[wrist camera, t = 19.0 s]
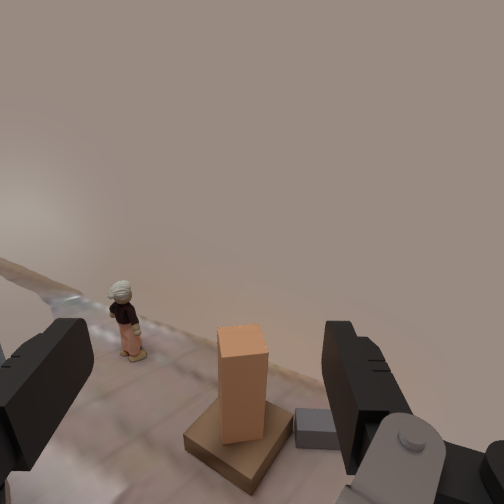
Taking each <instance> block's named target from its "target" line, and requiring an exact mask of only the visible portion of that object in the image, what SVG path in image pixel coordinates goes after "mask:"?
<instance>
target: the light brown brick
mask: <svg viewBox="0 0 504 504" xmlns="http://www.w3.org/2000/svg"><path fill="white" fill-rule="evenodd" d="M217 338H218V402H219V418H220V427H221V436H222V445H224V444H231V443H237V442H244V441H250V440H257V439H263V429H264V414H265V399H266V384H267V369H268V349H267V347H266V344H265V340H264V337H263V335H262V331H261V329H260V325H259V324H254V325H243V326H232V327H221V328H217Z"/></svg>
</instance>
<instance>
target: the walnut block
mask: <svg viewBox="0 0 504 504" xmlns="http://www.w3.org/2000/svg"><path fill="white" fill-rule="evenodd" d="M292 430H293V414H291V413H289V412H287V411H285V410H283V409H281V408H279V407H277V406H275V405H273V404H272V403H270V402H268V401H266V400H265V414H264V429H263V439H257V440H250V441H244V442H237V443H231V444H224V445H222V436H221V427H220V418H219V402H218V398H217V399H216V400H215V401H214V402H213V403H212V404H211V405H210V407H209V408H208V409H207V410H206V411H205V412H204V413H203V414H202V415H201V416H200V417H199V418H198V419H197V420H196V421H195V422H194V423H193V424H192V425H191V426H190V427H189V428H188V429H187V431H186V432H185V433H184V434H183V437H184V446H185V450H186V451H188V452H189V453H190V454H192V455H193V456H195V457H196V458H198V459H199V460H200V461H202V462H203V463H205V464H206V465H207V466H209V467H210V468H212V469H213V470H215V471H216V472H217V473H219V474H220V475H222V476H223V477H224V478H226V479H227V480H229V481H230V482H232V483H233V484H234V485H236V486H237V487H239V488H240V489H241V490H243V491H244V492H246V493H247V494H249V495H250V496H252V494H253V492H254V491H255V489H256V488H257V486H258V484H259V483H260V481H261V480H262V478H263V476H264V475H265V473H266V472H267V470H268V468H269V467H270V465H271V464H272V462H273V460H274V459H275V457H276V456H277V454H278V452H279V451H280V449H281V448H282V446H283V444H284V443H285V441H286V440H287V438H288V436H289V435H290V433H291V432H292Z"/></svg>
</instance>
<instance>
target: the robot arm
mask: <svg viewBox="0 0 504 504" xmlns="http://www.w3.org/2000/svg"><path fill="white" fill-rule="evenodd" d="M321 363H322V375H323V380H324V384H325V388H326V392H327V396H328V400H329V404H330V408H331V412H332V416H333V420H334V424H335V428H336V432H337V437H338V441H339V445H340V449H341V453H342V457H343V461H344V465H345V469H346V473H347V475H355V477H354V479H353V481H352V483H351V484H350V486H349V485H346V486H345V487H344V488H343V490H342V492H341V493H340V495H339V497H338V499H337V501H336V503H335V504H504V440H500V441H495V442H493V443H491V444H490V445H489V446H488V448H487V450H486V452H485V453H482V452H479V451H476V450H472V449H469V448H465V447H462V446H459V445H455V444H452V443H449V442H446V441H444V440H443V439H442V437H441V436H440V435H439V433H438V432H437V431H436V430H435V429H434V428H433V427H432V426H431V425H430V424H429V423H427V422H426V421H424V420H422V419H421V418H419V417H416V416H414V415H413V413H412V411H411V409H410V408H409V405H408V403H407V401H406V399H405V397H404V395H403V394H402V392H401V390H400V388H399V386H398V384H397V382H396V380H395V378H394V376H393V374H392V373H391V370H390V368H389V366H388V364H387V363H386V362H385V358H384V356H383V354H382V352H381V350H380V348H379V347H378V346H377V345H376V344H375V343H373V342H372V341H371V340H370V339H369V338H368V337H357V335H356V333H355V330H354V328H353V326H352V323H351V322H350V321H327V322H326V325H325V333H324V341H323V350H322V362H321ZM93 364H94V354H93V350H92V345H91V341H90V337H89V332H88V328H87V324H86V322H85V320H84V319H82V318H58V319H56V320H55V321H54V322H53V323H52V324H51V325H50V326H49V327H48V328H47V329H46V330H45V331H44V332H43V333H39V334H38V335H36V336H35V337H33V338H31V339H29V340H28V341H26V342H25V343H23V344H22V345H21V346H20V347H19V348H18V349H17V350H16V351H15V352H14V353H13V354H12V355H11V358H9V359H7V360H6V361H5V362H4V363H3V364H2V365H1V368H0V504H11V496H10V486H9V483H8V481H7V477H8V475H9V474H10V472H11V471H31V469H32V467H33V466H34V464H35V462H36V461H37V459H38V458H39V456H40V454H41V453H42V451H43V450H44V448H45V446H46V445H47V443H48V442H49V440H50V438H51V437H52V435H53V434H54V432H55V430H56V429H57V427H58V426H59V424H60V422H61V421H62V419H63V418H64V416H65V414H66V413H67V411H68V409H69V408H70V406H71V405H72V403H73V401H74V400H75V398H76V397H77V395H78V393H79V392H80V390H81V389H82V387H83V385H84V384H85V382H86V381H87V379H88V377H89V376H90V374H91V372H92V369H93Z"/></svg>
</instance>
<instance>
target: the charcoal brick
mask: <svg viewBox="0 0 504 504" xmlns="http://www.w3.org/2000/svg"><path fill="white" fill-rule="evenodd" d="M294 429H295V441H296V448H308V449H329V450H341V449H340V445H339V441H338V437H337V432H336V428H335V424H334V420H333V416H332V412H331V410H328V409H305V408H295V421H294Z"/></svg>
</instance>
